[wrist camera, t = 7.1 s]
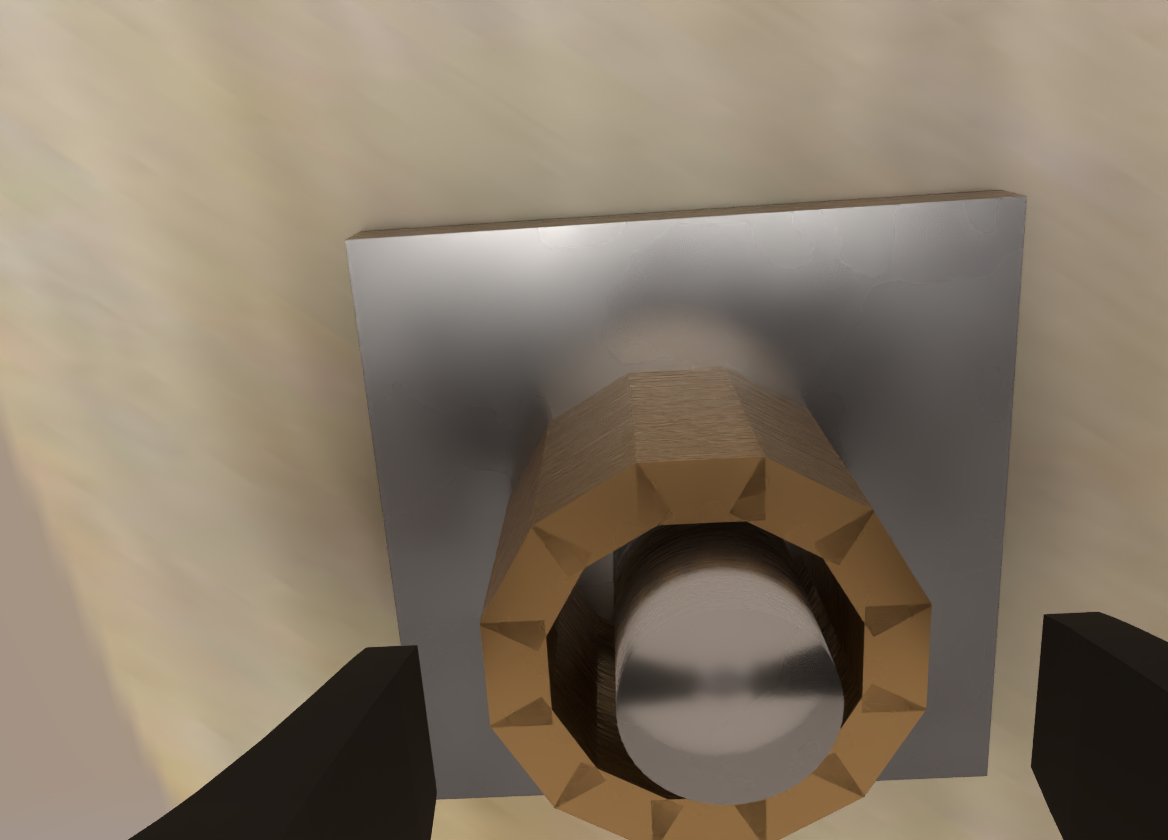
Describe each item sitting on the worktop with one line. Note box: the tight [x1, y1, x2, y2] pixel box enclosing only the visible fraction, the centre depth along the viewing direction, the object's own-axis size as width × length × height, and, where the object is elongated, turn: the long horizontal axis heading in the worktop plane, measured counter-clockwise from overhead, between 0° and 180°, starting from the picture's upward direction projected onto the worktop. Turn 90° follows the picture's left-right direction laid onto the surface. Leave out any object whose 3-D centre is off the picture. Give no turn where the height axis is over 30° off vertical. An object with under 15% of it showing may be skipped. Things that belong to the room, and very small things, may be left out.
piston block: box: [345, 190, 1027, 805], centre depth 14 cm, size 10×10×6 cm
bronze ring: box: [480, 367, 932, 840], centre depth 14 cm, size 6×6×4 cm
